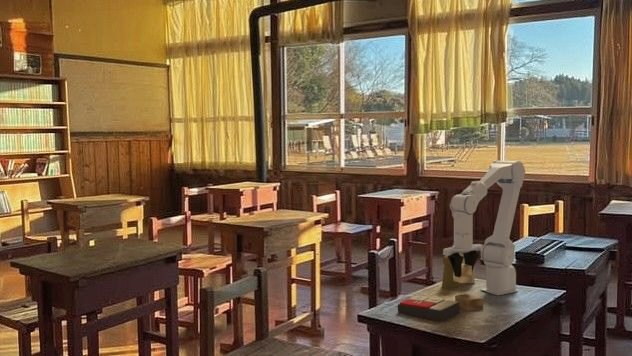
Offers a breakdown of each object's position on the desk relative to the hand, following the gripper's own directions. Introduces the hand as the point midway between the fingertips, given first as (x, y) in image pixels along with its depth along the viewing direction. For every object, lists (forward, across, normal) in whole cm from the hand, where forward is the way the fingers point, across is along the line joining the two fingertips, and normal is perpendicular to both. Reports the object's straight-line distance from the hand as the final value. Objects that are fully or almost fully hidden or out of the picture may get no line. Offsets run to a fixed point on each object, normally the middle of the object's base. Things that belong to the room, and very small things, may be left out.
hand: (463, 275), depth 191 cm
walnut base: (+9, +2, +5) cm, 10 cm away
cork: (+9, -9, -16) cm, 20 cm away
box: (+9, -18, -18) cm, 27 cm away
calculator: (+9, +16, +3) cm, 19 cm away
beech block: (+2, 0, 0) cm, 2 cm away
